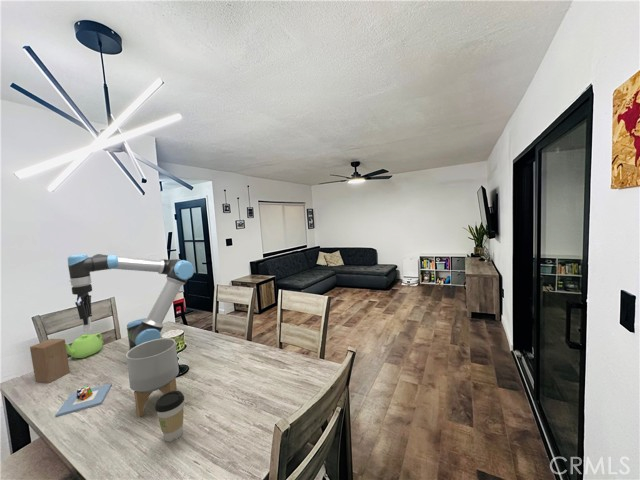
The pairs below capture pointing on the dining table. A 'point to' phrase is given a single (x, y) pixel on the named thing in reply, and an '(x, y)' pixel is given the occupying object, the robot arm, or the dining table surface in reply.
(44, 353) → the wooden block
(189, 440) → the dining table surface
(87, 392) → the rubik's cube
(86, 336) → the teapot
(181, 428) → the coffee cup
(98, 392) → the plate
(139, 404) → the planter
